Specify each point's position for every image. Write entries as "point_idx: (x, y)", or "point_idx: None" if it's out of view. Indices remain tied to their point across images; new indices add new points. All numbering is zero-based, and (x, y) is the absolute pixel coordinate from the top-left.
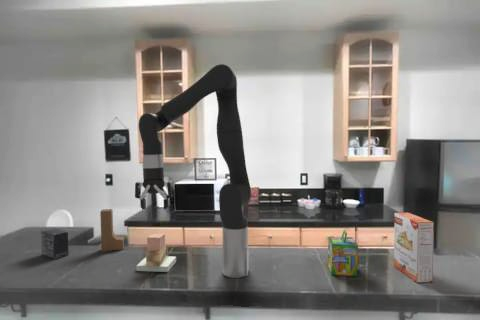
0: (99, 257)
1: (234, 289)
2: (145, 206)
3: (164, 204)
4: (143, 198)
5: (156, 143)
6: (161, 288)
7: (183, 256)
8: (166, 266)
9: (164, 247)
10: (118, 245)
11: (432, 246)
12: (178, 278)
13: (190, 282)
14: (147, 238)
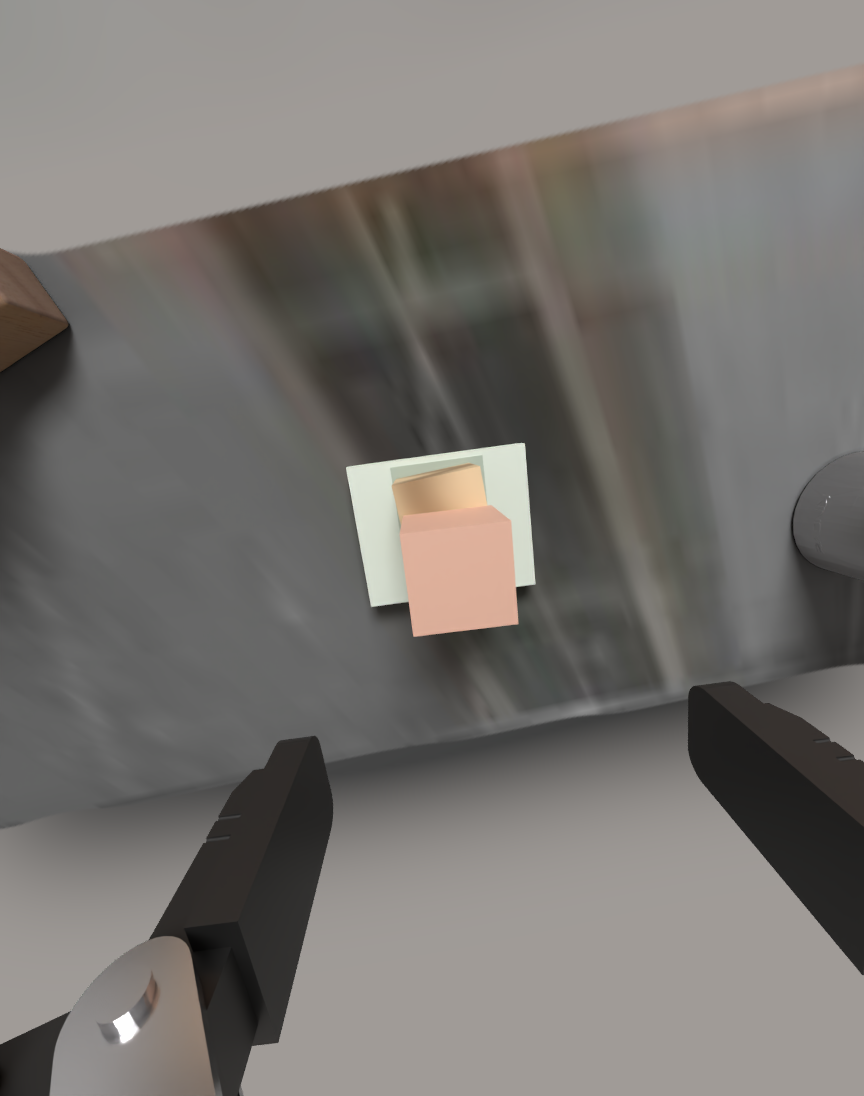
0: (42, 485)
1: (845, 657)
2: (308, 777)
3: (774, 843)
4: (241, 1071)
5: None
6: (565, 710)
7: (530, 357)
8: (528, 583)
9: (485, 503)
10: (19, 333)
11: None
12: (601, 622)
13: (662, 643)
14: (416, 632)
